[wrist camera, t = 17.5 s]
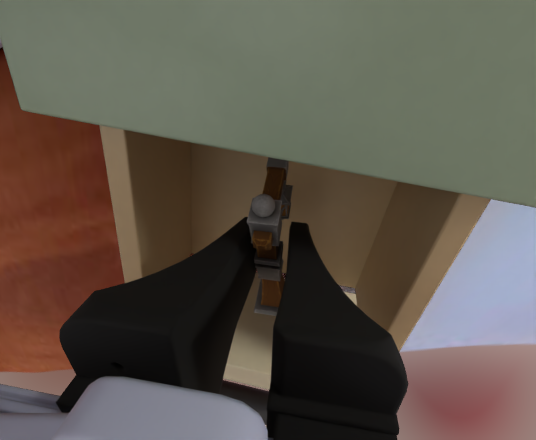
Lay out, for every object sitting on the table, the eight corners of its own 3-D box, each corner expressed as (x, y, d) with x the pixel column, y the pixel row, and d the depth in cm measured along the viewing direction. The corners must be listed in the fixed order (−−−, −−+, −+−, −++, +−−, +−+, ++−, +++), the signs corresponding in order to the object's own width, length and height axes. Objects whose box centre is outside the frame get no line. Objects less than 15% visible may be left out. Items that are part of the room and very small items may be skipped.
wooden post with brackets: (306, 123, 11) (290, 224, 8) (299, 243, 17) (289, 322, 14) (256, 120, 11) (225, 217, 8) (268, 240, 17) (252, 316, 15)
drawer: (344, 358, 21) (350, 464, 16) (178, 319, 22) (130, 407, 17) (485, 42, 11) (638, 41, 6) (165, -7, 12) (35, -48, 6)
